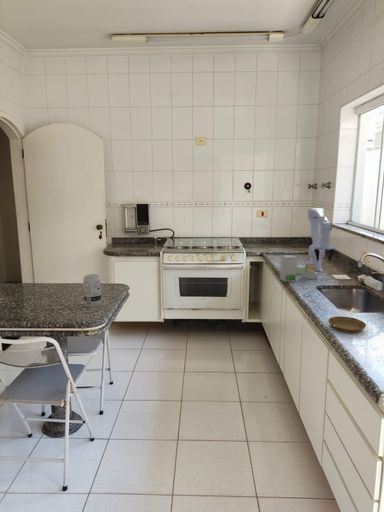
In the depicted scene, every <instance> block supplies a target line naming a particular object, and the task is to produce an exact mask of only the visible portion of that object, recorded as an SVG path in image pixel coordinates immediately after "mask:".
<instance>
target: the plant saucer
mask: <svg viewBox="0 0 384 512" xmlns="http://www.w3.org/2000/svg"><path fill="white" fill-rule="evenodd" d="M327 321H328V323H329V325H330V326H331V327H332V328H333V329H335V330H336V331H339V332H342V333H345V332H346V333H347V334H357V333H360V332H362V331H363V330H364V329H365V328H366V327H367V324H366V323H365V322H364V321H363V320H361V319H358V318H355V317H350V316H341V315H340V316H332V317H329V319H328V320H327ZM334 325H335V326H334Z"/></svg>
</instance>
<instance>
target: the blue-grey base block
mask: <svg viewBox="0 0 384 512" xmlns="http://www.w3.org/2000/svg"><path fill="white" fill-rule="evenodd" d="M301 276H302V277H303V278H305V279H307V280H312V279H313V280H315V279H319V272H317V271H315V273H307V272H306V271H303V274H302V275H301Z"/></svg>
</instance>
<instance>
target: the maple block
mask: <svg viewBox="0 0 384 512" xmlns="http://www.w3.org/2000/svg"><path fill="white" fill-rule="evenodd" d="M304 267H305V271H306V272H307V273H315V272H316V271H315V264H309V263H307V262H306V263H305V264H304Z"/></svg>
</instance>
